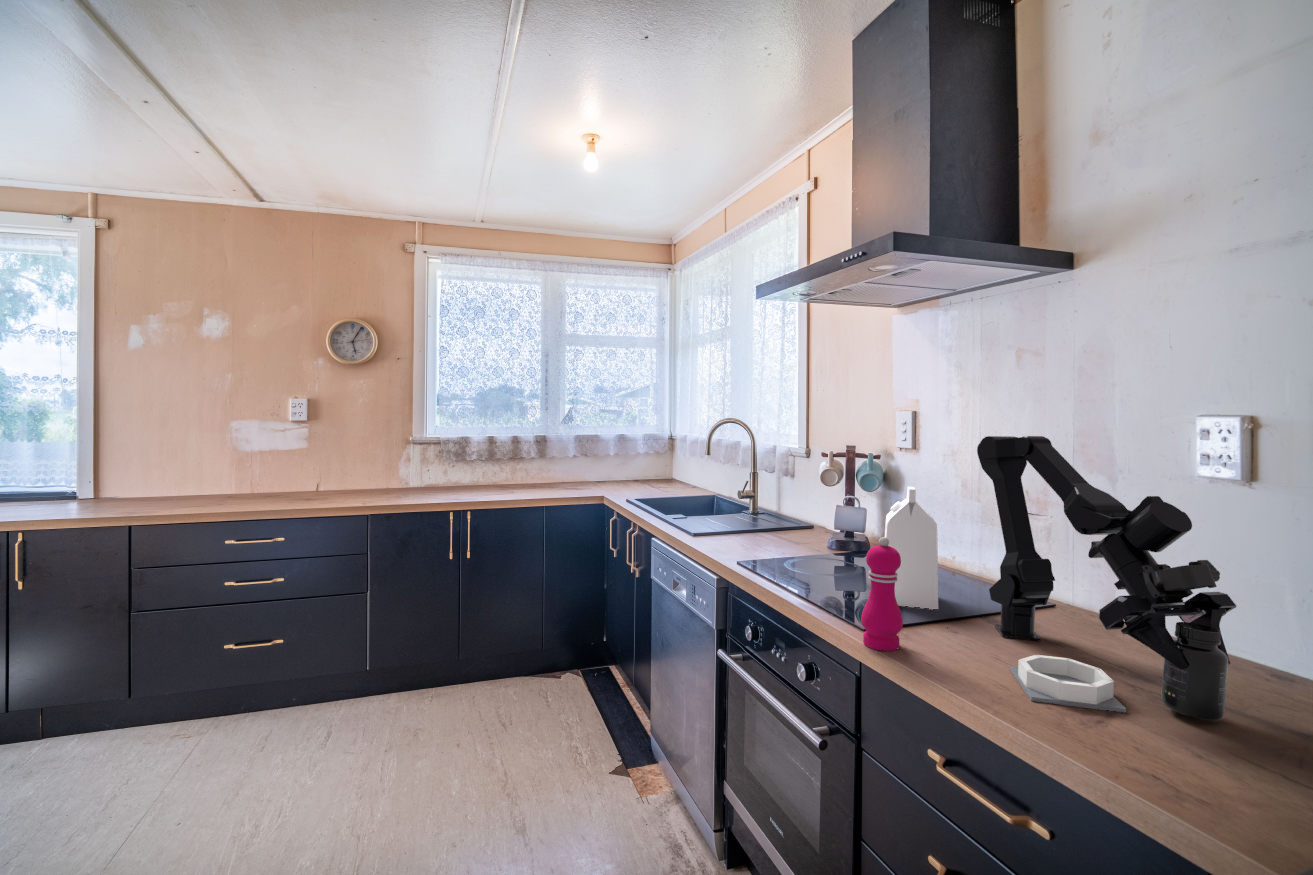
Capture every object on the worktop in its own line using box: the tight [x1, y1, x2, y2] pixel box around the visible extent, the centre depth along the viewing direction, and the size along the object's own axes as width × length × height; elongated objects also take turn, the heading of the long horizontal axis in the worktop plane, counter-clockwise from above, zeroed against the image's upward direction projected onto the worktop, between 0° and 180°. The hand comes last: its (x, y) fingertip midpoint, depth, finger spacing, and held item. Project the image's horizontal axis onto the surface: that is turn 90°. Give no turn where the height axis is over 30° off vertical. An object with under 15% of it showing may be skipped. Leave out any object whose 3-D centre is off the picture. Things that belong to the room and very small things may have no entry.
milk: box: [884, 486, 939, 610], centre depth 142 cm, size 12×12×26 cm
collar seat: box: [1009, 654, 1127, 713], centre depth 95 cm, size 12×12×3 cm
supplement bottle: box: [1160, 621, 1229, 721], centre depth 87 cm, size 7×7×12 cm
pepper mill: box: [860, 536, 904, 652], centre depth 113 cm, size 7×7×20 cm
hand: (1206, 666), depth 86 cm, fingers closed on supplement bottle, 7 cm apart
